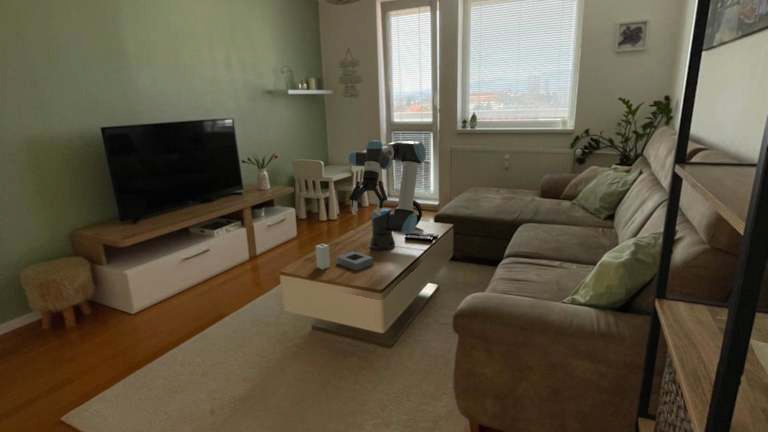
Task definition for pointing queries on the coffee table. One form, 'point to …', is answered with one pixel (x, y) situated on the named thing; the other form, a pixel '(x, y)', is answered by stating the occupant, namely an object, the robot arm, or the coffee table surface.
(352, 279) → the coffee table surface
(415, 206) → the headphones
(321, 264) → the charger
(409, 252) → the coffee table surface
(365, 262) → the block
